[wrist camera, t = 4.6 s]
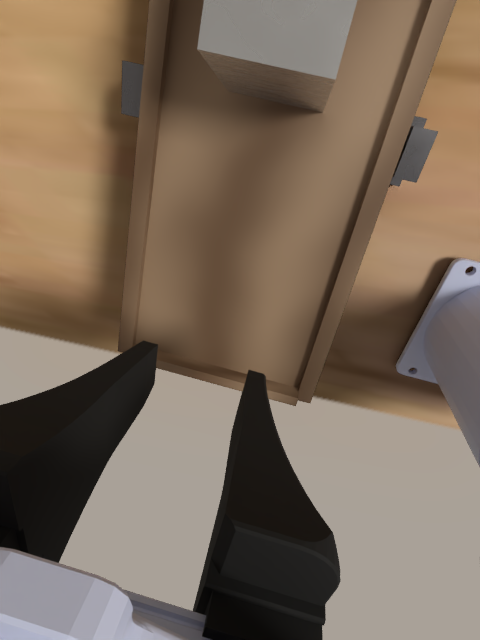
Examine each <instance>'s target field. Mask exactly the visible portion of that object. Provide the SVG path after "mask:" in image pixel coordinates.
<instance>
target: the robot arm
mask: <svg viewBox="0 0 480 640" xmlns="http://www.w3.org/2000/svg"><path fill="white" fill-rule="evenodd" d="M470 266H473V270H472V271H471V272H469V273H465V271H466V269H467V268H468V267H470ZM157 352H158V344H154V343H151V342H147V341H144V340H143V341H142V342H140V343H138V344H136V345H135V346H133V347H132V348H130V349H128V350H127V351H125V352H124V353H122V354H120V355H119V356H117V357H115V358H114V359H112V360H110V361H108V362H107V363H105V364H103V365H101V366H100V367H98V368H96V369H94V370H92V371H90V372H88V373H86V374H84V375H82V376H80V377H78V378H76V379H74V380H72V381H70V382H67V383H65V384H63V385H60V386H58V387H56V388H53V389H50V390H47V391H45V392H42V393H39V394H36V395H33V396H30V397H27V398H24V399H21V400H18V401H14V402H10V403H7V404H3V405H0V640H322V625H324V624H325V604H326V602H327V601H328V600H329V598H330V597H331V596H332V594H333V593H334V592H335V590H336V589H337V588H338V585H339V583H340V566H339V559H338V554H337V548H336V544H335V540H334V535H333V532H332V531H331V530H330V528H329V527H328V525H327V524H326V523H325V521H324V520H323V518H322V517H321V516H320V514H319V513H318V511H317V510H316V508H315V507H314V505H313V504H312V502H311V500H310V499H309V497H308V496H307V494H306V492H305V491H304V489H303V487H302V485H301V483H300V482H299V480H298V478H297V476H296V474H295V472H294V470H293V468H292V466H291V464H290V462H289V460H288V458H287V456H286V453H285V451H284V449H283V446H282V444H281V441H280V438H279V436H278V433H277V429H276V426H275V423H274V420H273V416H272V412H271V408H270V404H269V399H268V394H267V387H266V376H265V375H264V374H263V373H259V372H256V371H252V370H248V374H247V377H246V381H245V384H244V388H243V392H242V395H241V399H240V403H239V406H238V410H237V414H236V417H235V422H234V425H233V429H232V435H231V441H230V447H229V454H228V460H227V467H226V473H225V480H224V486H223V491H222V496H221V500H220V504H219V508H218V512H217V516H216V520H215V524H214V529H213V532H212V536H211V541H210V544H209V548H208V553H207V557H206V560H205V564H204V569H203V573H202V576H201V580H200V585H199V589H198V592H197V596H196V600H195V604H194V608H193V611H190V610H187V609H184V608H181V607H177V606H174V605H171V604H168V603H165V602H161V601H158V600H155V599H152V598H149V597H145V596H142V595H139V594H136V593H133V592H130V591H127V590H123V589H122V588H120V587H119V586H118V585H117V584H115V583H114V582H111V581H109V580H107V579H105V578H102V577H100V576H98V575H95V574H92V573H88V572H85V571H82V570H79V569H76V568H72V567H69V566H66V565H63V564H60V563H59V561H60V558H61V556H62V554H63V552H64V549H65V547H66V545H67V543H68V541H69V538H70V536H71V534H72V532H73V530H74V528H75V526H76V524H77V522H78V520H79V518H80V515H81V513H82V511H83V509H84V507H85V505H86V503H87V501H88V499H89V497H90V495H91V493H92V491H93V489H94V487H95V485H96V483H97V481H98V479H99V478H100V476H101V474H102V472H103V470H104V468H105V466H106V464H107V462H108V461H109V458H110V457H111V455H112V453H113V452H114V451H115V449H116V447H117V446H118V444H119V442H120V441H121V440H122V438H123V437H124V435H125V434H126V432H127V431H128V429H129V428H130V426H131V424H132V423H133V422H134V420H135V418H136V417H137V415H138V414H139V412H140V411H141V409H142V408H143V406H144V404H145V402H146V400H147V398H148V396H149V394H150V392H151V390H152V388H153V385H154V381H155V370H156V361H157ZM410 368H415V369H414V370H412V371H410V370H409V369H410ZM396 369H397V372H398V373H400V374H402V375H406V376H409V377H413V378H417V379H421V380H425V381H428V382H432V383H436V384H439V386H440V388H441V390H442V392H443V394H444V396H445V398H446V400H447V402H448V405H449V407H450V409H451V411H452V413H453V415H454V417H455V419H456V421H457V423H458V425H459V427H460V429H461V431H462V433H463V435H464V437H465V439H466V441H467V443H468V445H469V447H470V449H471V451H472V453H473V455H474V457H475V459H476V461H477V463H478V465H479V467H480V262H478V261H474V260H470V259H466V258H457V259H455V260H453V261H452V262H451V264H450V265H449V267H448V269H447V271H446V272H445V274H444V276H443V278H442V280H441V282H440V284H439V285H438V287H437V289H436V291H435V293H434V295H433V297H432V298H431V300H430V302H429V304H428V306H427V308H426V310H425V311H424V313H423V315H422V317H421V319H420V321H419V323H418V324H417V326H416V328H415V330H414V332H413V334H412V336H411V337H410V339H409V341H408V343H407V345H406V347H405V348H404V350H403V352H402V354H401V356H400V358H399V360H398V361H397V363H396Z"/></svg>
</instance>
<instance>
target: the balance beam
mask: <svg viewBox="0 0 480 640" xmlns="http://www.w3.org/2000/svg"><path fill="white" fill-rule="evenodd" d="M456 1H457V0H357V3H356V7H355V11H354V14H353V18H352V22H351V25H350V29H349V33H348V36H347V40H346V44H345V47H344V51H343V54H342V58H341V62H340V65H339V69H338V73H337V76H336V80H335V82H334V85H333V88H332V90H331V93H330V95H329V98H328V100H327V103H326V105H325V108H324V110H323V113H322V112H318V111H313V110H309V109H304V108H300V107H295V106H291V105H287V104H282V103H278V102H273V101H269V100H264V99H260V98H256V97H251V96H247V95H242V94H238V93H233V92H229V91H228V90H227V89H226V87H225V86H224V85H223V83H222V82H221V81H220V79H219V78H218V77H217V75H216V74H215V73H214V71H213V70H212V69H211V67H210V66H209V65H208V63H207V62H206V60H205V59H204V58H203V56H202V55H201V54H200V52H199V51H198V50H197V47H198V39H199V32H200V25H201V18H202V10H203V3H204V0H150V1H149V12H148V23H147V34H146V45H145V56H144V67H143V78H142V90H141V101H140V112H139V123H138V134H137V145H136V156H135V167H134V178H133V189H132V200H131V211H130V222H129V233H128V244H127V255H126V266H125V277H124V288H123V299H122V310H121V321H120V332H119V344H118V351H120V352H123V353H124V352H125V351H127V350H128V349H130V348H132V347H133V346H135V345H136V344H138V343H140V342H142V341H143V340H144V341H147V342H151V343H154V344H158V352H157V361H156V368H158V369H162V370H166V371H169V372H173V373H177V374H181V375H184V376H188V377H192V378H195V379H199V380H202V381H206V382H210V383H213V384H217V385H221V386H224V387H228V388H232V389H235V390H239V391H242V392H243V388H244V384H245V381H246V377H247V374H248V370H252V371H256V372H259V373H263V374H264V375H265V376H266V387H267V394H268V399H272V400H275V401H279V402H283V403H287V404H290V405H294V406H296V404H297V401H298V400H299V401H303V402H307V403H310V402H311V400H312V397H313V394H314V391H315V389H316V386H317V383H318V380H319V378H320V375H321V372H322V369H323V367H324V364H325V361H326V358H327V356H328V353H329V350H330V347H331V345H332V342H333V339H334V336H335V334H336V331H337V328H338V325H339V323H340V320H341V317H342V314H343V312H344V309H345V306H346V303H347V300H348V298H349V295H350V292H351V289H352V287H353V284H354V281H355V278H356V276H357V273H358V270H359V267H360V265H361V262H362V259H363V256H364V254H365V251H366V248H367V245H368V243H369V240H370V237H371V234H372V232H373V229H374V226H375V223H376V221H377V218H378V215H379V212H380V210H381V207H382V204H383V201H384V199H385V196H386V193H387V190H388V188H389V185H390V182H391V179H392V177H393V174H394V171H395V168H396V166H397V163H398V160H399V157H400V155H401V152H402V149H403V146H404V144H405V141H406V138H407V135H408V133H409V130H410V127H411V124H412V122H413V119H414V116H415V113H416V111H417V108H418V105H419V102H420V100H421V97H422V94H423V91H424V89H425V86H426V83H427V80H428V78H429V75H430V72H431V69H432V67H433V64H434V61H435V58H436V56H437V53H438V50H439V47H440V45H441V42H442V39H443V36H444V34H445V31H446V28H447V25H448V23H449V20H450V17H451V14H452V12H453V9H454V6H455V3H456Z"/></svg>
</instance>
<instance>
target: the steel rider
mask: <svg viewBox="0 0 480 640" xmlns="http://www.w3.org/2000/svg"><path fill="white" fill-rule="evenodd" d="M356 3H357V0H204V3H203V10H202V18H201V25H200V32H199V39H198V47H197V50H198V51H199V52H200V54H201V55H202V56H203V58H204V59H205V60H206V62H207V63H208V65H209V66H210V67H211V69H212V70H213V71H214V73H215V74H216V75H217V77H218V78H219V79H220V81H221V82H222V83H223V85H224V86H225V87H226V89H227V90H228V91H229V92H233V93H238V94H242V95H247V96H251V97H256V98H260V99H264V100H269V101H273V102H278V103H282V104H287V105H291V106H295V107H300V108H304V109H309V110H313V111H318V112H322V113H323V110H324V108H325V105H326V103H327V100H328V98H329V95H330V93H331V90H332V88H333V85H334V82H335V80H336V76H337V73H338V69H339V65H340V62H341V58H342V54H343V51H344V47H345V44H346V40H347V36H348V33H349V29H350V25H351V22H352V18H353V14H354V11H355V7H356Z"/></svg>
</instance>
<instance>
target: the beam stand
mask: <svg viewBox="0 0 480 640" xmlns="http://www.w3.org/2000/svg"><path fill="white" fill-rule="evenodd" d="M143 67H144V65H141V64H136V63H132V62H127V61H123V60H122V111H121V114H126V115H130V116H134V117H138V118H139V112H140V101H141V90H142V78H143ZM426 120H427V119H425V118H421V117H416V116H414V119H413V122H412V124H411V127H410V130H409V133H408V135H407V138H406V141H405V144H404V146H403V149H402V152H401V155H400V157H399V160H398V163H397V166H396V168H395V171H394V174H393V177H392V179H391V182H390V184H391V185H396V186H400V184H401V181H402V179H403V180H407V181H411V182H417V180H418V178H419V175H420V173H421V171H422V168H423V166H424V164H425V161H426V159H427V157H428V154H429V152H430V150H431V147H432V145H433V143H434V140H435V138H436V136H437V134H438V132H437V131H433V130H428V129H424V128H423V127H424V125H425V123H426Z"/></svg>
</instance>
